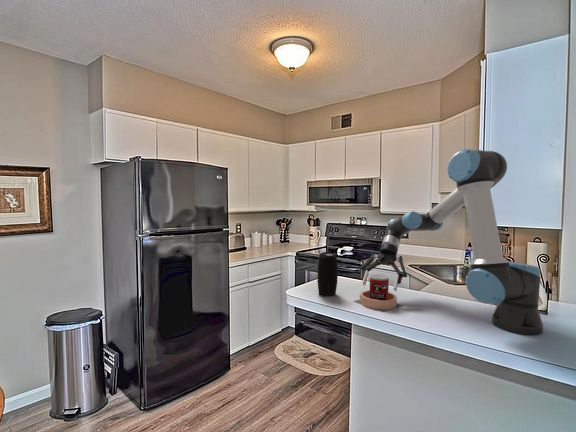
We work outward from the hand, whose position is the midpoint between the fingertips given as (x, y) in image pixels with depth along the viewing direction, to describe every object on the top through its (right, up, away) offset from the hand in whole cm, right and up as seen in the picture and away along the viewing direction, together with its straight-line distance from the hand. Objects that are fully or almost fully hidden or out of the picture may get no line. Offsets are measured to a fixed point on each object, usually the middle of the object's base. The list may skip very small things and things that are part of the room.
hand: (378, 286), depth 140 cm
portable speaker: (-21, -7, +12) cm, 25 cm away
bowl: (-1, -7, 0) cm, 7 cm away
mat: (-1, -7, 0) cm, 7 cm away
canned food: (0, -7, 0) cm, 7 cm away
